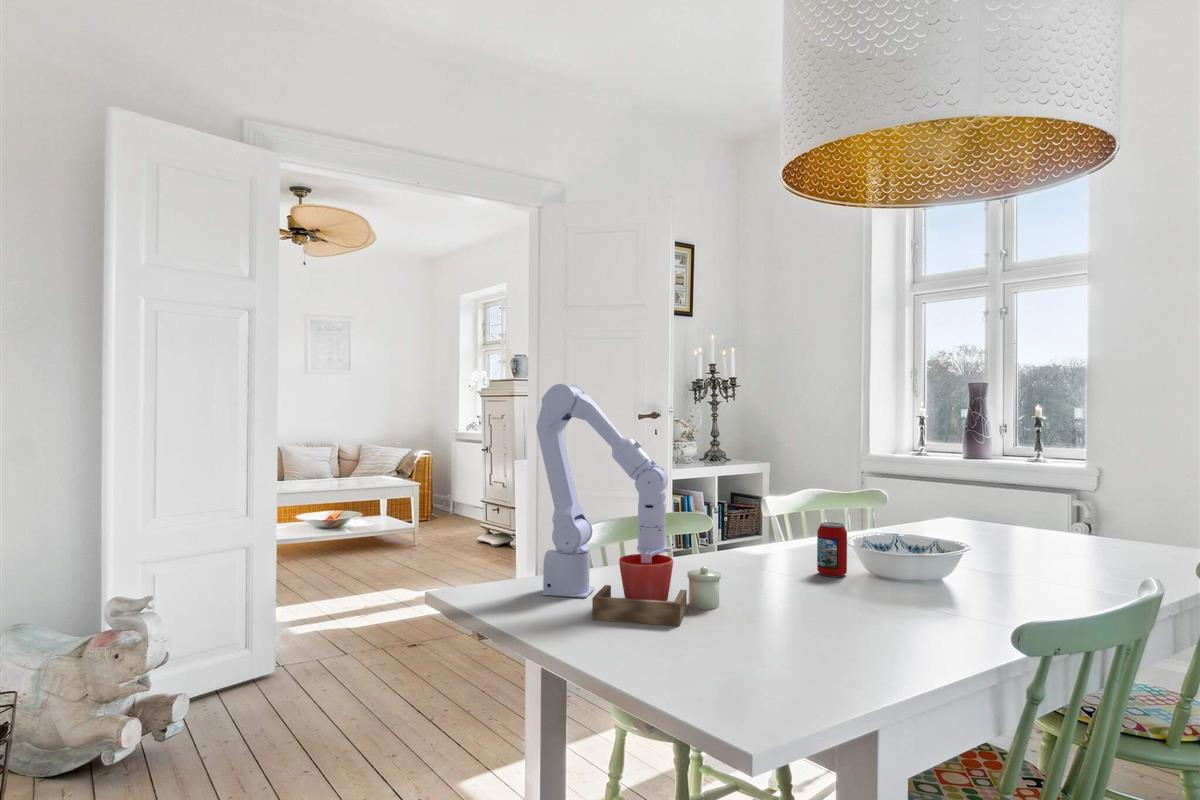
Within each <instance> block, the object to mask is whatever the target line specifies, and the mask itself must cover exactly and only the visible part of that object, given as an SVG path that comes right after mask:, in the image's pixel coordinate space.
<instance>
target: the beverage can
mask: <svg viewBox="0 0 1200 800" xmlns="http://www.w3.org/2000/svg"><path fill="white" fill-rule="evenodd" d="M816 533H817V536H816V537H817V542H816V545H817V547H816V548H817V549H816V551H817V553H816V555H817V556H816V557H817V558H816V561H817V564H816V567H817V569H816V570H817V572H818V573H819V574H820V575H822V576H825V577H829V578H831V577H832V578H840V577H843V576H845V575H846V574H847V573H848V572H847V571H848V570H847V569H848V531H847V530H846V527H845V525H844V524H843V523H841V522H840V523H839V522H831V521H829V522H826V521H825V522H821V523H820V525H819V527H818V528H817V532H816Z"/></svg>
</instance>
